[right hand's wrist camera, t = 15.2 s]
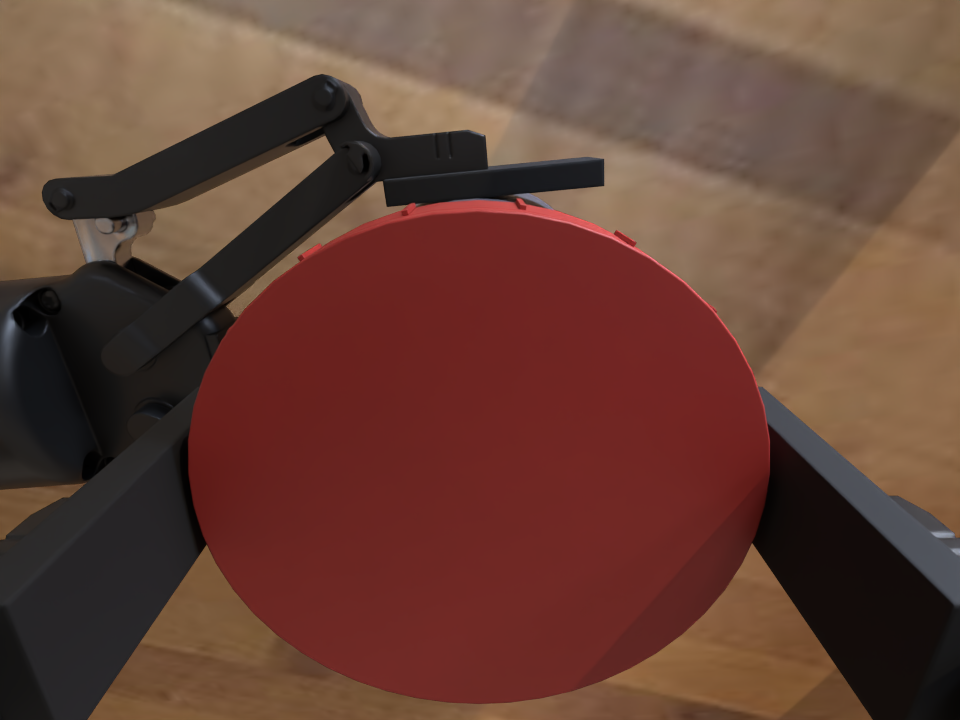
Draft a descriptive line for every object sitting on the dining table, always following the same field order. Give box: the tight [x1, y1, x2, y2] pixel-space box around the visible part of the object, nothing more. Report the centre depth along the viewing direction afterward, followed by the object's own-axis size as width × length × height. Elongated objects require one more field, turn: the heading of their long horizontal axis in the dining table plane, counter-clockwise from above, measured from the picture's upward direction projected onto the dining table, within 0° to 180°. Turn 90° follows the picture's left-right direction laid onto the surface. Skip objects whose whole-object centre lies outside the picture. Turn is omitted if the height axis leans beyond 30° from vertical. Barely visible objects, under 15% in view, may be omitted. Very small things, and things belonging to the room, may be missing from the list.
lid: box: [188, 198, 770, 704], centre depth 12 cm, size 11×12×2 cm
